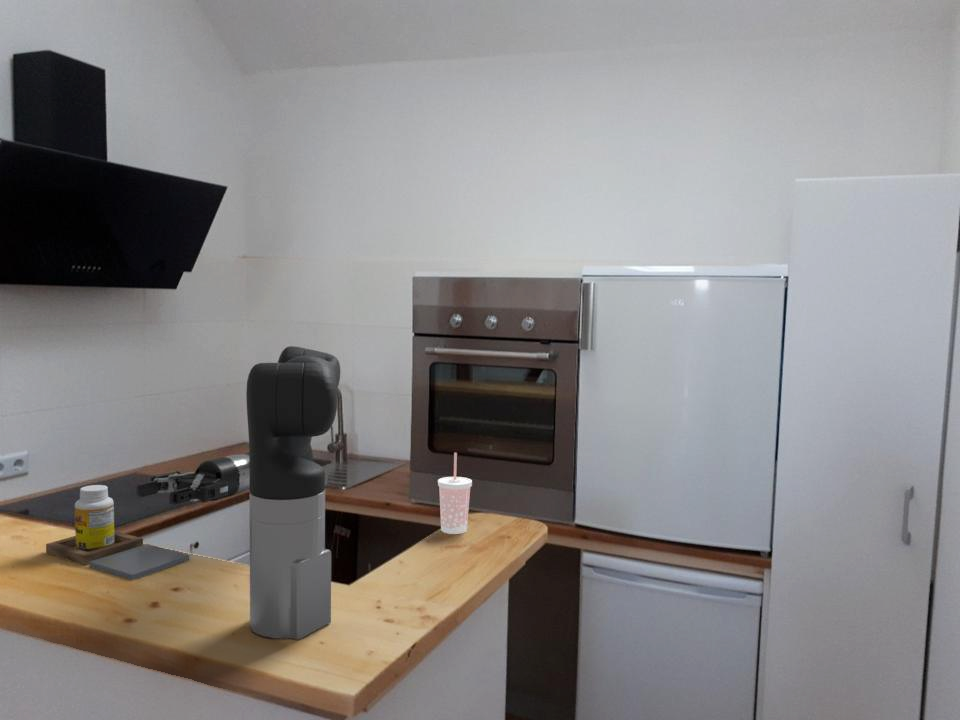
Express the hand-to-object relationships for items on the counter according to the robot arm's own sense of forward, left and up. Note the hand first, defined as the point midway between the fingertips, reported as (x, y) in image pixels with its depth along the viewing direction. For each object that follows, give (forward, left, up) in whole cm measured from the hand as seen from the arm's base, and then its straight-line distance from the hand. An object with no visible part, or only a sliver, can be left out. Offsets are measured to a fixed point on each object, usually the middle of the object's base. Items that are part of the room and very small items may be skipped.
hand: (154, 494), depth 135 cm
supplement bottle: (0, +11, -7) cm, 13 cm away
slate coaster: (-11, +11, -7) cm, 17 cm away
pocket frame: (0, +11, -7) cm, 13 cm away
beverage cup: (-42, -30, -7) cm, 52 cm away
